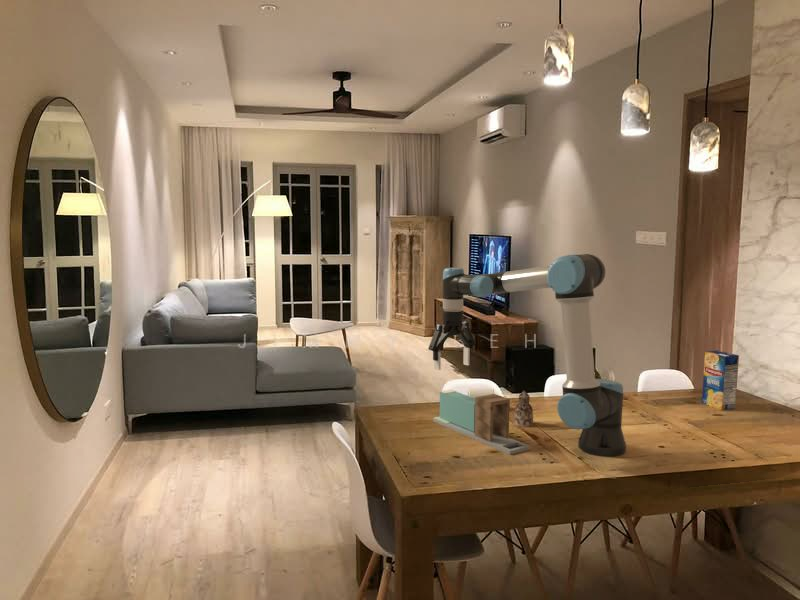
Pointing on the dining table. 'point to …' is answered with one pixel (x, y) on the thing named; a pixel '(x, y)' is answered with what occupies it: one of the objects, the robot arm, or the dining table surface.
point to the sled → (458, 409)
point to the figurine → (523, 411)
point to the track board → (498, 442)
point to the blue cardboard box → (720, 379)
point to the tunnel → (491, 416)
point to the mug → (479, 392)
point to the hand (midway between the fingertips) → (452, 367)
